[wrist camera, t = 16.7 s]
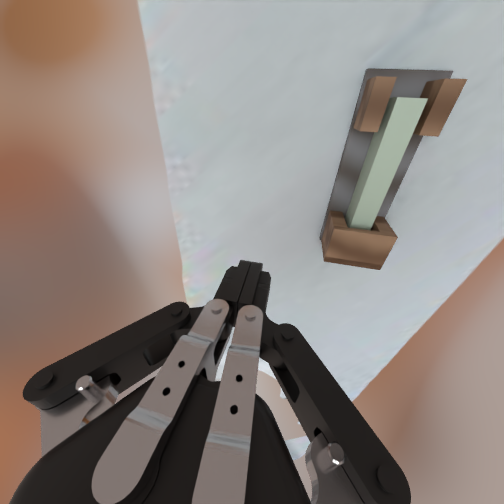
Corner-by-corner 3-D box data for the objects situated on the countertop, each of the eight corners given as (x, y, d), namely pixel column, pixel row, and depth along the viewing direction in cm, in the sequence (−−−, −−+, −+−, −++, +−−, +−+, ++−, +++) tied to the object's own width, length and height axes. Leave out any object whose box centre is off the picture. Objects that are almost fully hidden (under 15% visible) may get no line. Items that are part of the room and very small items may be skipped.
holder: (366, 69, 25) (385, 59, 19) (448, 72, 24) (496, 61, 18) (319, 237, 39) (322, 261, 33) (369, 244, 38) (381, 270, 32)
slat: (386, 97, 25) (397, 97, 22) (412, 99, 25) (428, 98, 22) (338, 236, 37) (342, 248, 34) (356, 238, 37) (361, 251, 34)
